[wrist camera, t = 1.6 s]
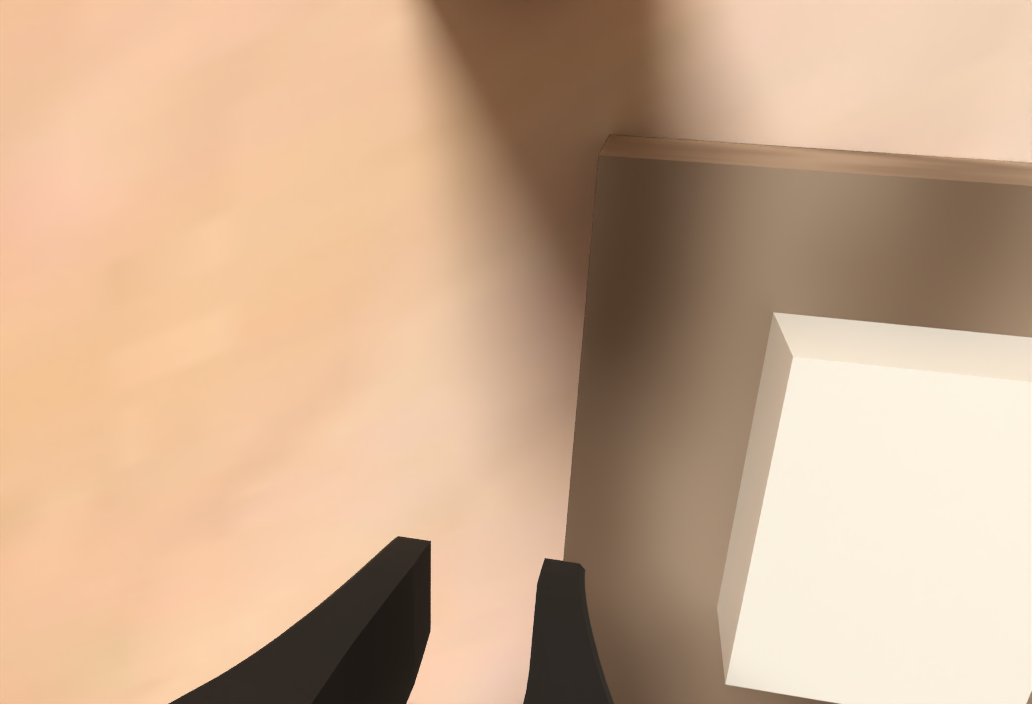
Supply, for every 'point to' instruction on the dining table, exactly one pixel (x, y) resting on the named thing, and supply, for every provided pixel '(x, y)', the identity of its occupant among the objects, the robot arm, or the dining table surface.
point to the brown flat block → (744, 353)
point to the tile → (884, 518)
